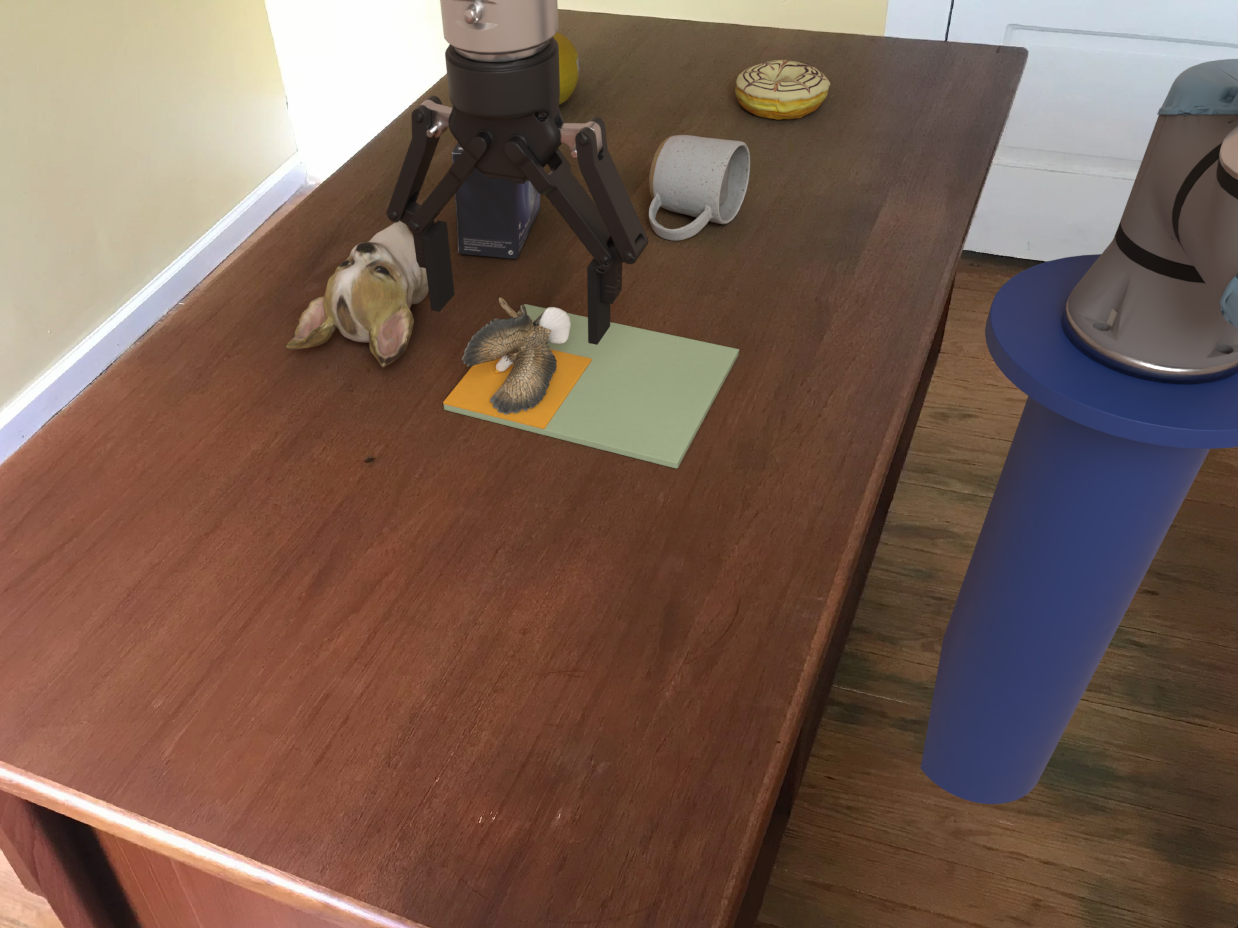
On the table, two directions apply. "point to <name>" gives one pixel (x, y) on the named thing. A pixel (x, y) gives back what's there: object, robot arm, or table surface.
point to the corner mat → (612, 391)
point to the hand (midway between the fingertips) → (519, 318)
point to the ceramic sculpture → (369, 297)
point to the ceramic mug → (698, 182)
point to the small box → (493, 214)
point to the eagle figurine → (520, 354)
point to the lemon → (567, 66)
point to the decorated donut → (781, 89)
